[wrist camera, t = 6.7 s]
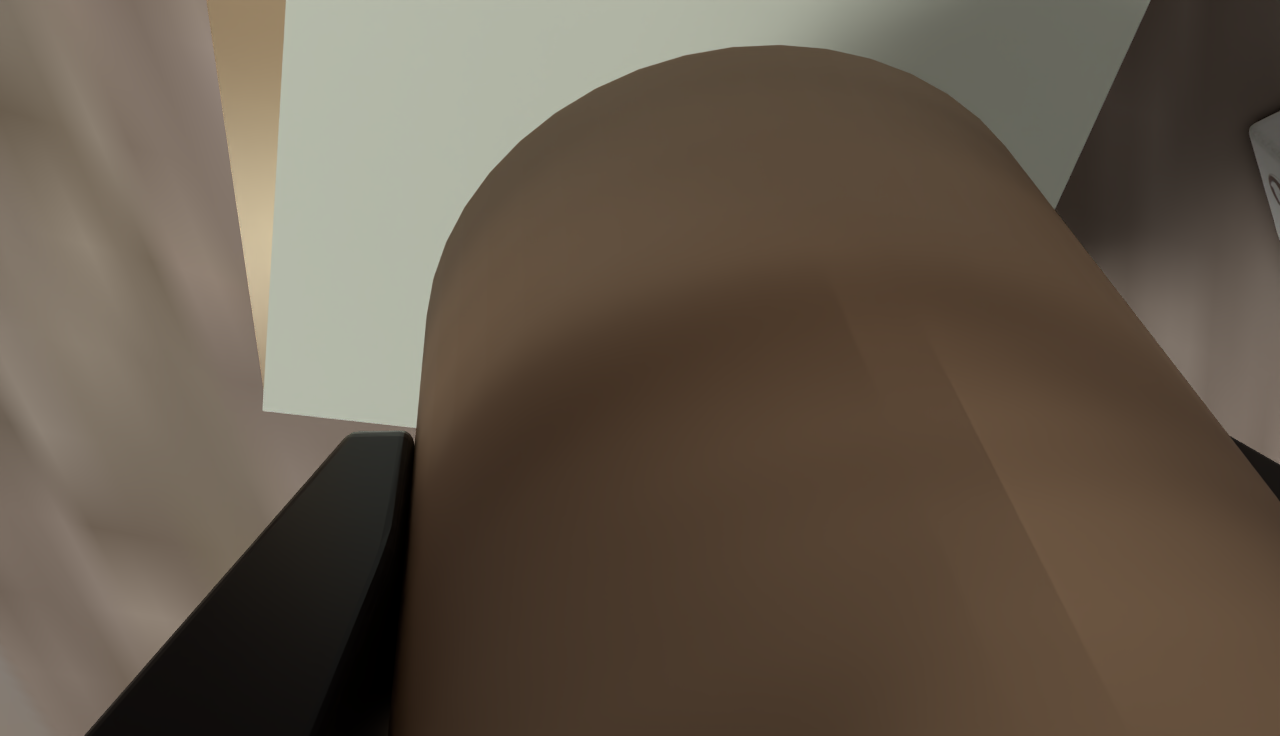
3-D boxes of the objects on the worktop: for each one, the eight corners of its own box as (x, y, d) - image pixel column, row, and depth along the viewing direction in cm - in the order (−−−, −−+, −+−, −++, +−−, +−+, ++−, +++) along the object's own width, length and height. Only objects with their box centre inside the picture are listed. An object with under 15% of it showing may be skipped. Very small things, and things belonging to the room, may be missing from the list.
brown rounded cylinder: (979, 566, 11) (1325, 1351, 7) (438, 580, 11) (388, 1445, 6) (1130, 50, 9) (1944, 773, 4) (408, 37, 8) (266, 859, 3)
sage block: (869, 347, 18) (929, 484, 15) (298, 271, 16) (262, 411, 14) (1105, -257, 13) (1241, -199, 11) (349, -445, 12) (310, -428, 9)
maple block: (902, 277, 21) (957, 382, 18) (292, 276, 19) (264, 388, 17) (1054, -432, 15) (1162, -416, 12) (199, -490, 14) (135, -487, 11)
